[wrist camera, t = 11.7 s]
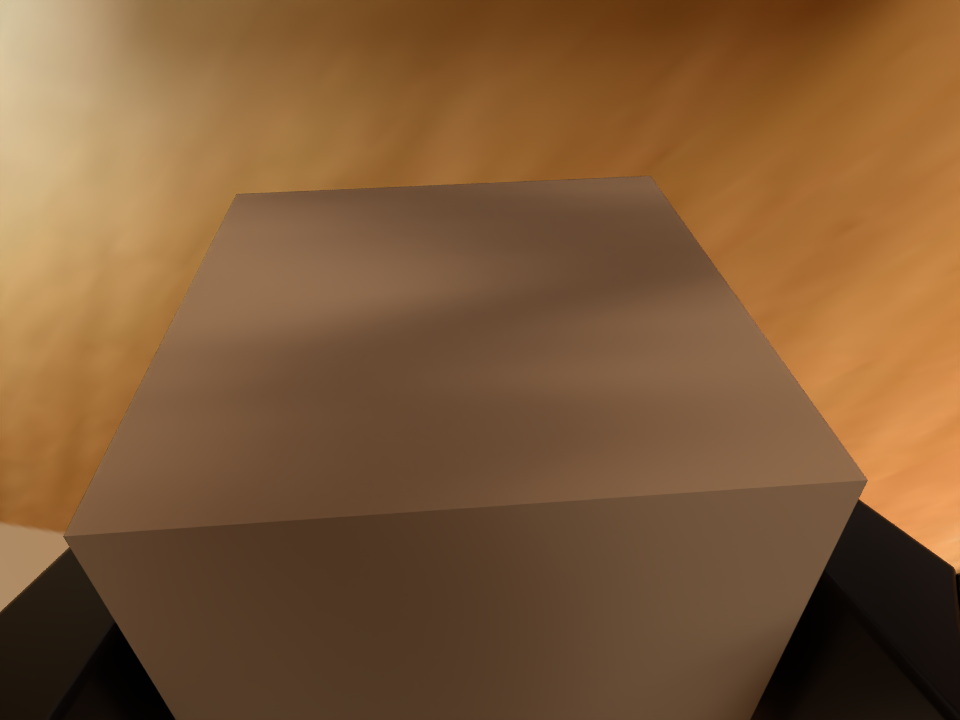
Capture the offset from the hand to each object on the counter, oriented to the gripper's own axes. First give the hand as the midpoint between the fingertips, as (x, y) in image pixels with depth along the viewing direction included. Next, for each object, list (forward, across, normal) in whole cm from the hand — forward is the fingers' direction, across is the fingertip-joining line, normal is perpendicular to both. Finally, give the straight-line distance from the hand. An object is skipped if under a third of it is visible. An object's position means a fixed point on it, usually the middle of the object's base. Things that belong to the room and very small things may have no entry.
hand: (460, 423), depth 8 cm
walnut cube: (+2, 0, 0) cm, 2 cm away
